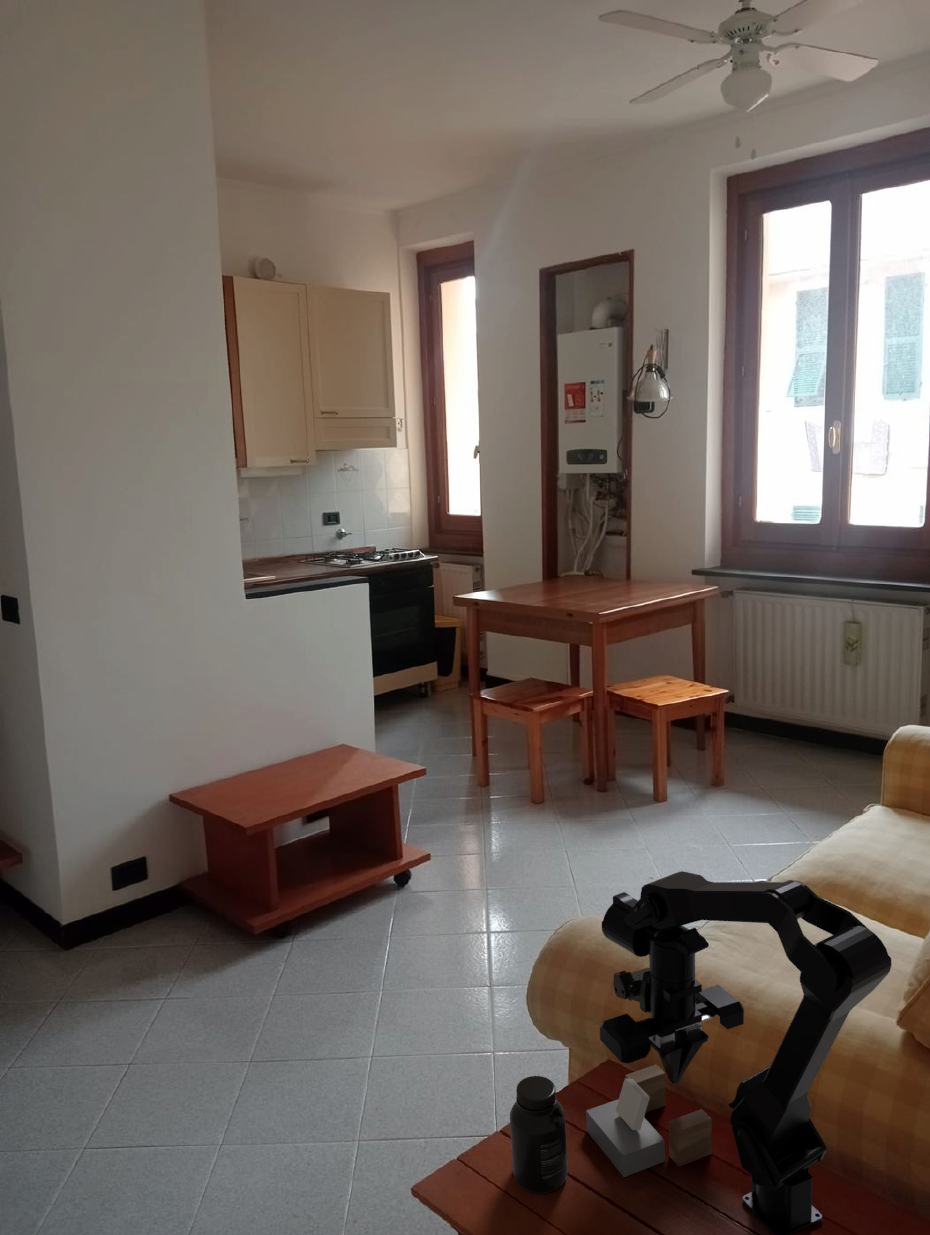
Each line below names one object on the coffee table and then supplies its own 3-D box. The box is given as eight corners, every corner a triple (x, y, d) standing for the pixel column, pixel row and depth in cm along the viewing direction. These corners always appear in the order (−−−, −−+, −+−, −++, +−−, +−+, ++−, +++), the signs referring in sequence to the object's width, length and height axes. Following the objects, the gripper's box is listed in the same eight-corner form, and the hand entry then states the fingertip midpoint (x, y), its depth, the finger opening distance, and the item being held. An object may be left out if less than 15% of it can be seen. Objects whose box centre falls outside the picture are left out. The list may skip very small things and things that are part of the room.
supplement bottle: (567, 1155, 121) (564, 1070, 119) (568, 1196, 114) (565, 1107, 112) (513, 1153, 122) (510, 1069, 120) (511, 1194, 115) (507, 1106, 113)
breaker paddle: (640, 1130, 120) (649, 1097, 120) (632, 1130, 120) (642, 1096, 119) (623, 1110, 124) (632, 1078, 123) (615, 1110, 123) (624, 1078, 123)
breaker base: (664, 1161, 119) (664, 1139, 119) (623, 1177, 117) (623, 1155, 116) (625, 1116, 127) (625, 1096, 127) (586, 1130, 125) (586, 1110, 124)
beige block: (711, 1153, 120) (711, 1118, 119) (678, 1167, 118) (678, 1131, 117) (701, 1143, 122) (701, 1108, 121) (669, 1156, 120) (668, 1121, 119)
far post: (665, 1105, 129) (665, 1072, 128) (634, 1117, 127) (633, 1083, 126) (656, 1096, 131) (656, 1064, 130) (625, 1108, 129) (625, 1074, 128)
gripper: (694, 926, 132) (694, 1028, 134) (576, 959, 125) (579, 1067, 127) (747, 964, 122) (747, 1073, 124) (622, 1002, 115) (625, 1118, 117)
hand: (673, 1081), depth 124 cm, fingers closed
